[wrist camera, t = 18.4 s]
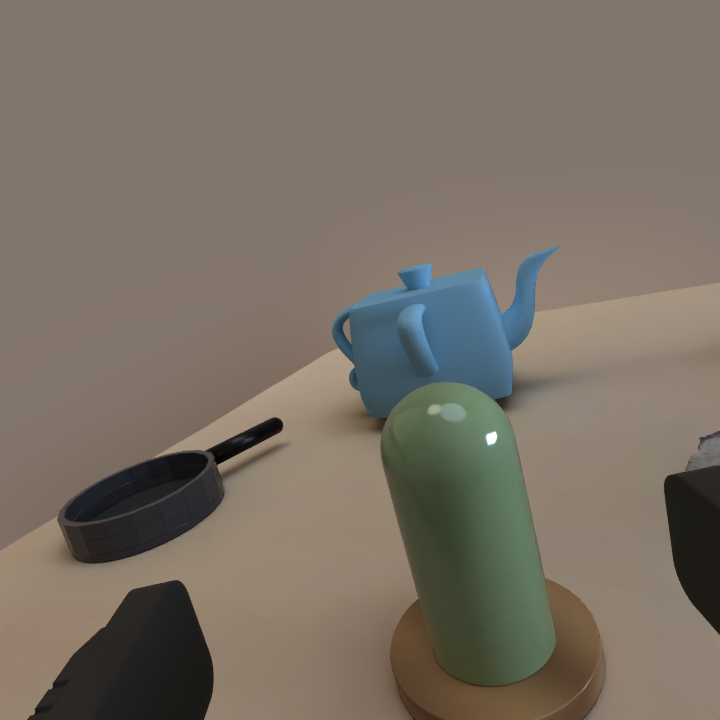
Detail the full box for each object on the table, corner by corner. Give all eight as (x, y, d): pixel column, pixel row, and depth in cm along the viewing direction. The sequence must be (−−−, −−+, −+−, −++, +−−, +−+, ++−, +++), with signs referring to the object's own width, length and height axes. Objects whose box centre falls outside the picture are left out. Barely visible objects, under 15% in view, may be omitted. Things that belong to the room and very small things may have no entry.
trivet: (539, 803, 16) (533, 776, 15) (356, 685, 21) (349, 664, 21) (639, 626, 21) (635, 604, 20) (468, 570, 27) (464, 552, 26)
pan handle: (210, 471, 46) (204, 454, 46) (201, 469, 47) (196, 452, 47) (288, 430, 52) (283, 415, 51) (279, 429, 53) (274, 414, 52)
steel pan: (100, 581, 35) (84, 541, 35) (54, 539, 44) (41, 507, 43) (251, 493, 43) (240, 459, 42) (186, 472, 52) (176, 444, 51)
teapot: (417, 455, 42) (375, 287, 39) (337, 416, 57) (303, 292, 54) (585, 379, 49) (559, 231, 46) (474, 362, 63) (450, 249, 61)
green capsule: (453, 706, 18) (379, 425, 16) (418, 616, 23) (356, 389, 21) (582, 659, 19) (527, 380, 17) (521, 581, 23) (472, 355, 21)
